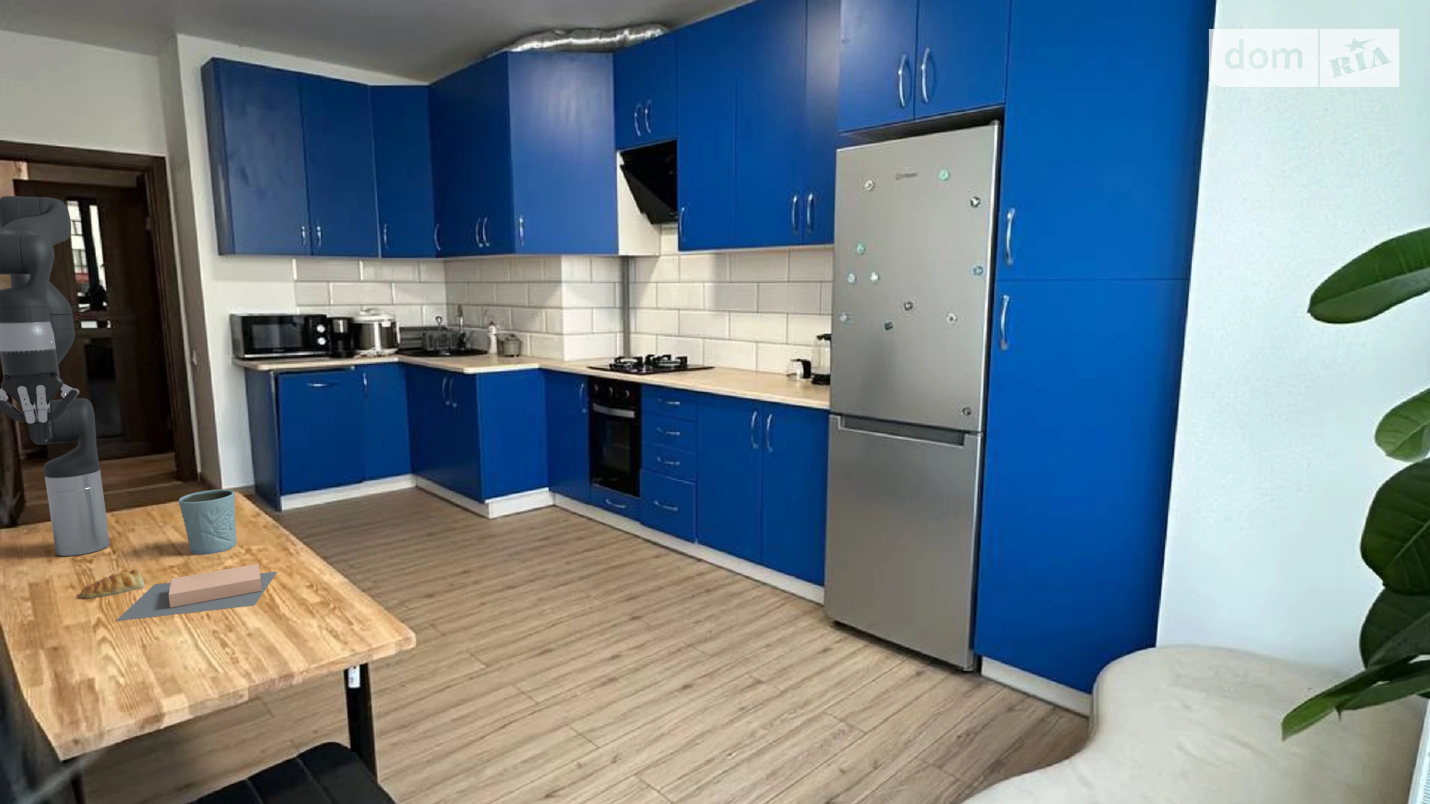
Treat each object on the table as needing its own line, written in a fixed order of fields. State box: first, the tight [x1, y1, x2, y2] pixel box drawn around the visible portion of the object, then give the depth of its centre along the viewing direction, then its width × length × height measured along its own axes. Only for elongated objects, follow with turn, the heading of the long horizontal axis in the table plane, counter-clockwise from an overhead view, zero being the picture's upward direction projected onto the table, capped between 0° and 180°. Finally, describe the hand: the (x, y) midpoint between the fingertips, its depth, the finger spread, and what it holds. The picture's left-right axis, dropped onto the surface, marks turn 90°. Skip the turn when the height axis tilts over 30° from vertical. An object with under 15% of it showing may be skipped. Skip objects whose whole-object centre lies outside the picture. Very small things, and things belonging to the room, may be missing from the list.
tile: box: [169, 563, 262, 608], centre depth 143 cm, size 3×9×14 cm
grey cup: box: [178, 489, 237, 556], centre depth 168 cm, size 10×10×12 cm
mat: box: [115, 571, 278, 622], centre depth 142 cm, size 17×21×1 cm
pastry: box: [80, 568, 145, 599], centre depth 145 cm, size 9×7×4 cm
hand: (41, 442), depth 140 cm, fingers closed
